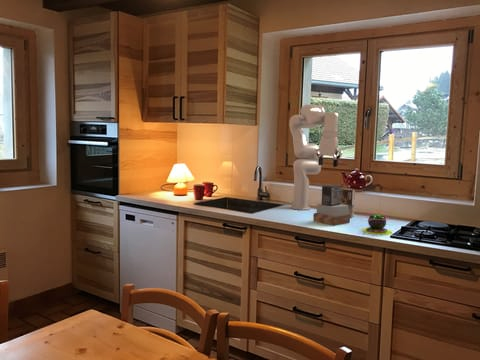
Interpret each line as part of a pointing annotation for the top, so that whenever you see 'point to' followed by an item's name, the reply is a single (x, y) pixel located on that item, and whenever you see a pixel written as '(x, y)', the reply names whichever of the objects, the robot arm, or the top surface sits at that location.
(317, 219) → the tower base
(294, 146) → the robot arm
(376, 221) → the toy cauldron
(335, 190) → the small box
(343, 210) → the tower top
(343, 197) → the coffee box
